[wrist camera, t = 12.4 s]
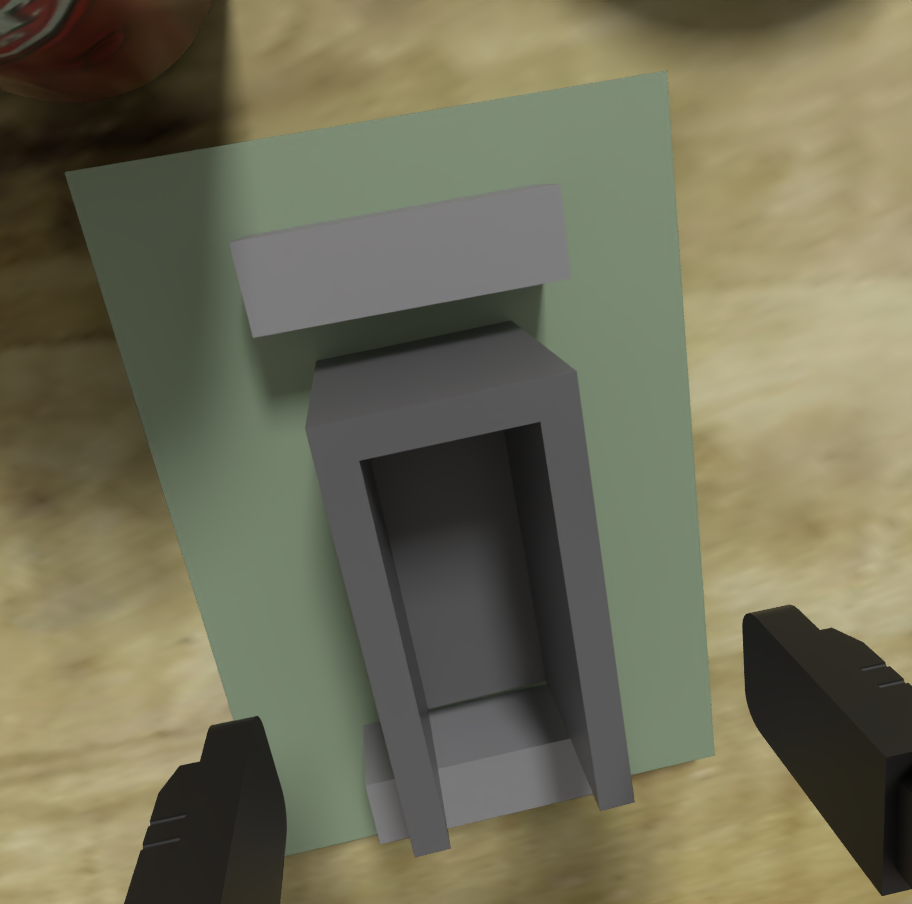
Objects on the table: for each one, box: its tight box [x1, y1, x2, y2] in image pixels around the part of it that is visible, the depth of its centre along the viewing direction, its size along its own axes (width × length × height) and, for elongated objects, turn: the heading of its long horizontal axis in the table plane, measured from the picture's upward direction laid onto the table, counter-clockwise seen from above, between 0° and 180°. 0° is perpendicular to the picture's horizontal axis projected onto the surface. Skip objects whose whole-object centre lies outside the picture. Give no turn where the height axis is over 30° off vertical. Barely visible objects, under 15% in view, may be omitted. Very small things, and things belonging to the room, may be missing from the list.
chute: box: [305, 321, 635, 857], centre depth 19 cm, size 10×5×6 cm, turn 10°
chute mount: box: [64, 71, 715, 856], centre depth 21 cm, size 20×14×4 cm
